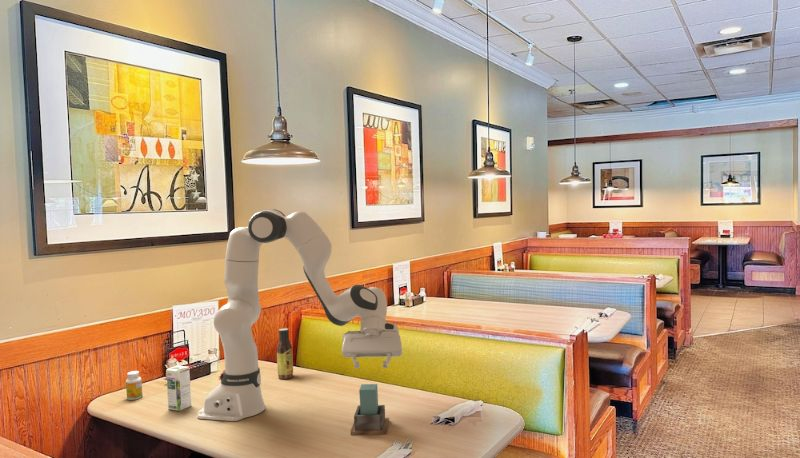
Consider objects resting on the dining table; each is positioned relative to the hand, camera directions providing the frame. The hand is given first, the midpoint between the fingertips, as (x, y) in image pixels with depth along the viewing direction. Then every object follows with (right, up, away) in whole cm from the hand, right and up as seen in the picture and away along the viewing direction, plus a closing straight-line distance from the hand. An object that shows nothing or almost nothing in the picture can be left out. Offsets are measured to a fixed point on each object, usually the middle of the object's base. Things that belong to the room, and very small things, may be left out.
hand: (370, 367), depth 179 cm
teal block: (0, -16, -8) cm, 18 cm away
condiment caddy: (0, -17, -8) cm, 19 cm away
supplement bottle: (-91, -19, +29) cm, 98 cm away
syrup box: (-69, -19, +17) cm, 74 cm away
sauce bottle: (-37, -16, +46) cm, 61 cm away
